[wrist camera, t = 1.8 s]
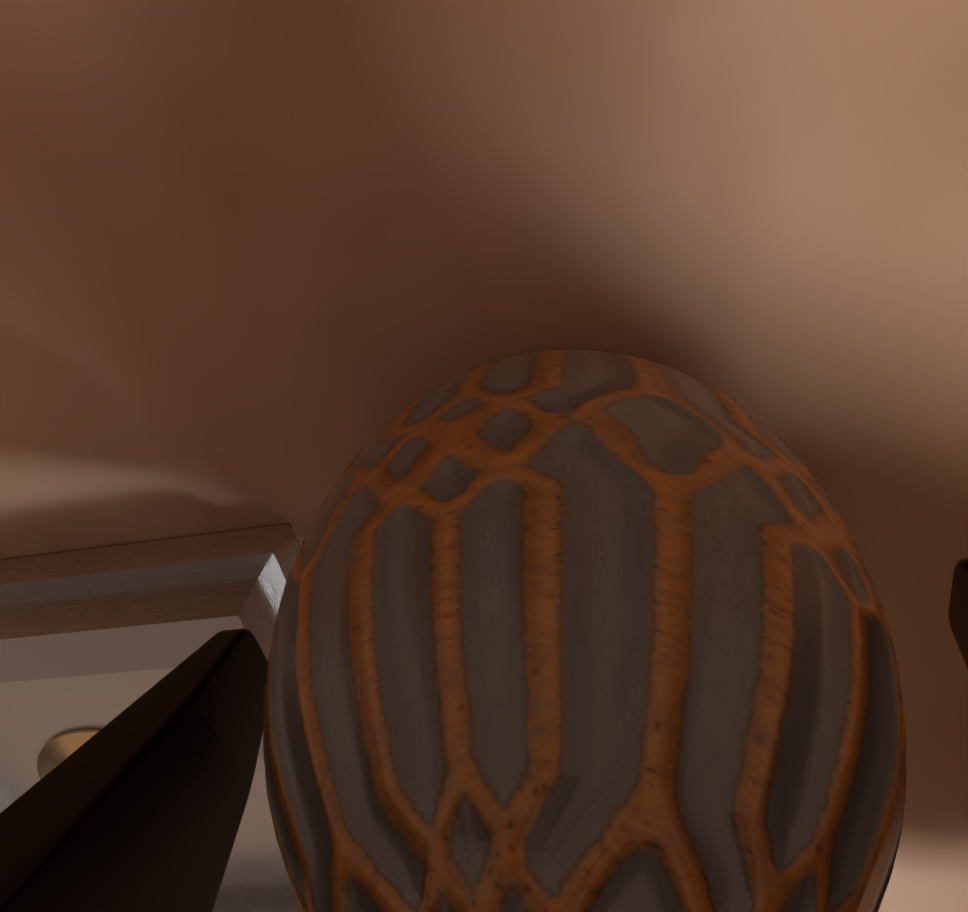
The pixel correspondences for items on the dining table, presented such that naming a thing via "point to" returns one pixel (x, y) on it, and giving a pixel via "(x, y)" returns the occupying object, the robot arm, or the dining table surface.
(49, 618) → the grey square tray
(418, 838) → the vase
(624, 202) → the dining table surface
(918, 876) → the dining table surface
